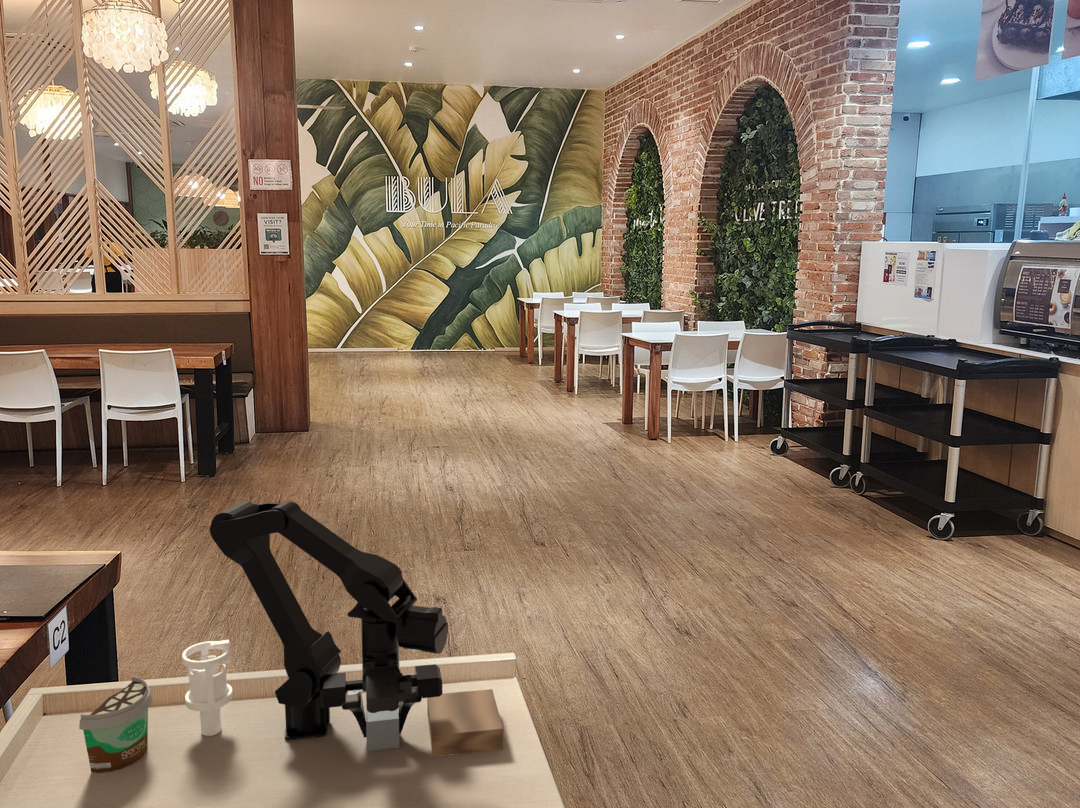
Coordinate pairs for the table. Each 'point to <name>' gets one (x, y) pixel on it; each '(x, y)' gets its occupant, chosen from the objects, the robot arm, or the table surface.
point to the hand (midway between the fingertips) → (382, 734)
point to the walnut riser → (464, 723)
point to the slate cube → (382, 730)
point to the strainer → (208, 684)
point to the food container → (118, 728)
